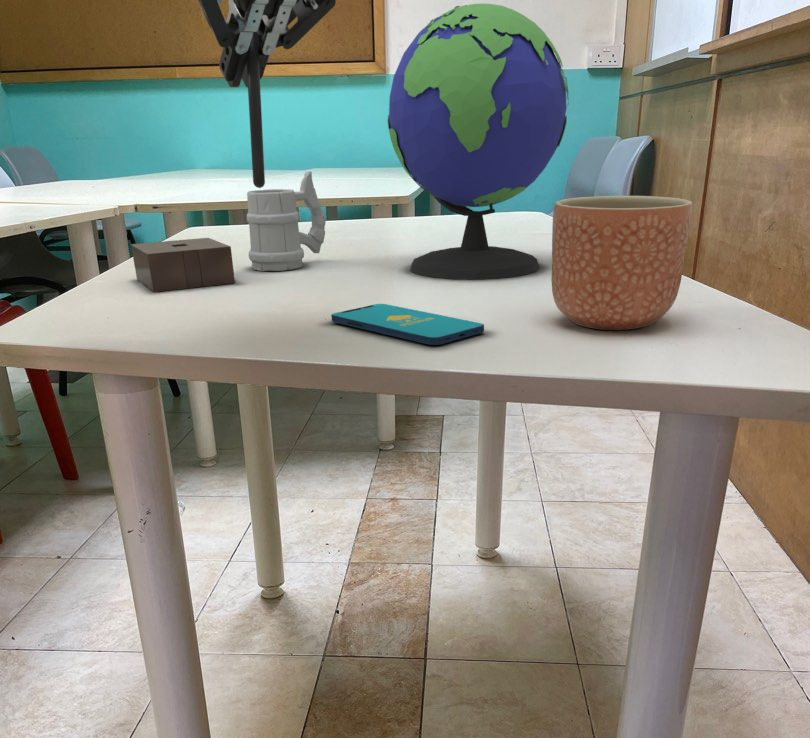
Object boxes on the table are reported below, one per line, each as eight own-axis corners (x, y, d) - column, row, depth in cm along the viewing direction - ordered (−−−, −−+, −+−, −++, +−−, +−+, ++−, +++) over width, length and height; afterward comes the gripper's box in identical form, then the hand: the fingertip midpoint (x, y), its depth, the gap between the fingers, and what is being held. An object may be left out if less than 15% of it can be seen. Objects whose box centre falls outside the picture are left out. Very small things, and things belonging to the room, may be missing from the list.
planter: (523, 317, 82) (528, 200, 77) (622, 304, 86) (633, 193, 81) (596, 344, 72) (608, 212, 67) (705, 327, 76) (724, 202, 71)
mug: (240, 267, 114) (230, 174, 109) (313, 258, 120) (307, 169, 115) (264, 273, 109) (255, 176, 103) (340, 264, 115) (334, 171, 109)
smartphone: (434, 337, 72) (327, 312, 81) (434, 346, 72) (327, 321, 82) (488, 324, 76) (380, 302, 86) (488, 332, 76) (381, 310, 86)
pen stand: (153, 292, 99) (147, 253, 97) (136, 280, 107) (130, 244, 105) (235, 283, 103) (230, 246, 101) (213, 272, 111) (208, 237, 109)
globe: (369, 280, 103) (356, -2, 89) (417, 253, 122) (413, 17, 108) (545, 285, 97) (561, -17, 83) (567, 256, 116) (584, 6, 102)
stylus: (255, 189, 76) (246, 24, 69) (251, 187, 77) (242, 24, 70) (266, 188, 77) (258, 24, 70) (263, 186, 77) (254, 24, 70)
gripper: (349, -141, 64) (285, 50, 78) (190, -171, 57) (150, 46, 71) (391, -70, 63) (318, 112, 77) (233, -91, 56) (184, 114, 70)
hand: (237, 80), depth 74 cm, fingers closed on stylus, 1 cm apart
